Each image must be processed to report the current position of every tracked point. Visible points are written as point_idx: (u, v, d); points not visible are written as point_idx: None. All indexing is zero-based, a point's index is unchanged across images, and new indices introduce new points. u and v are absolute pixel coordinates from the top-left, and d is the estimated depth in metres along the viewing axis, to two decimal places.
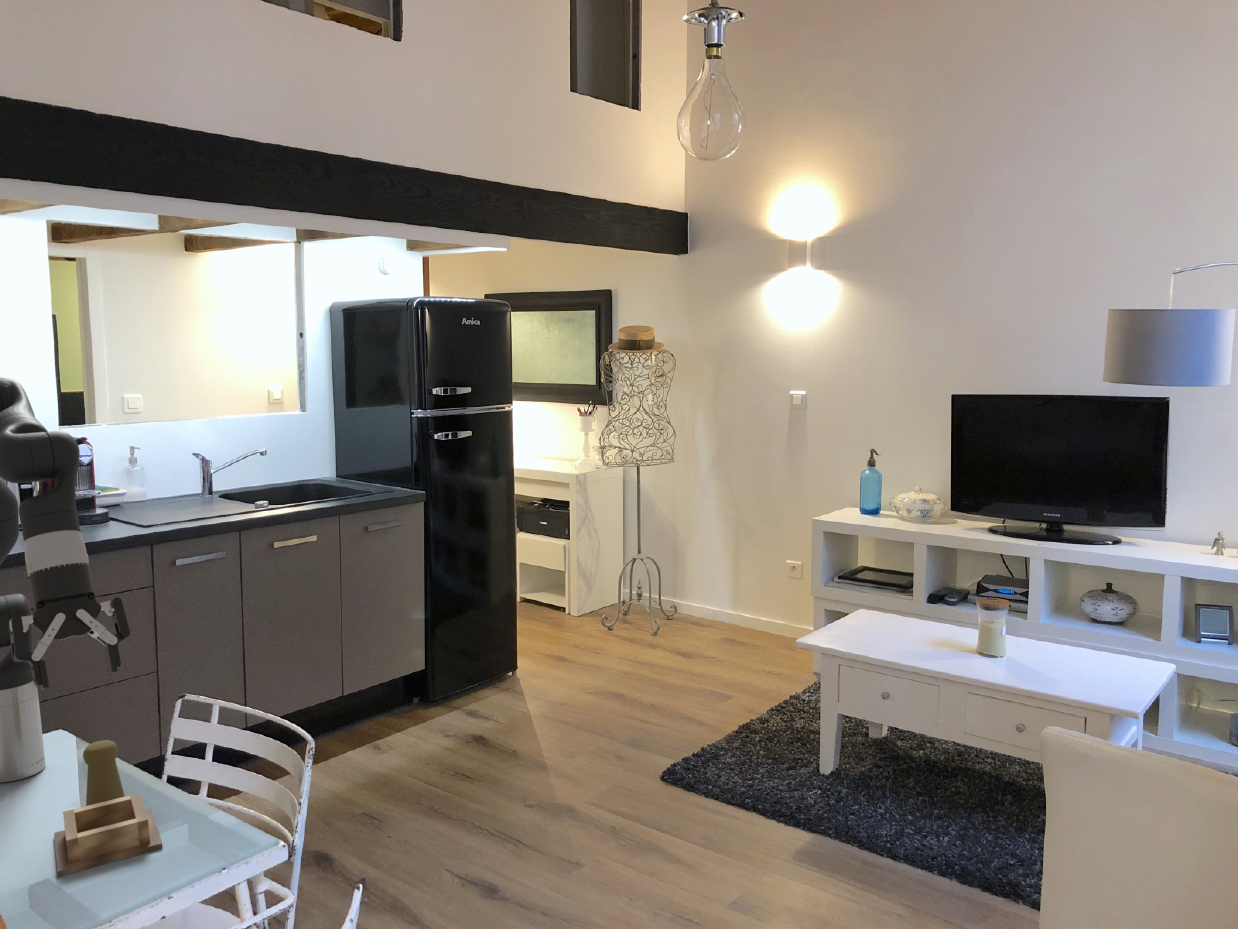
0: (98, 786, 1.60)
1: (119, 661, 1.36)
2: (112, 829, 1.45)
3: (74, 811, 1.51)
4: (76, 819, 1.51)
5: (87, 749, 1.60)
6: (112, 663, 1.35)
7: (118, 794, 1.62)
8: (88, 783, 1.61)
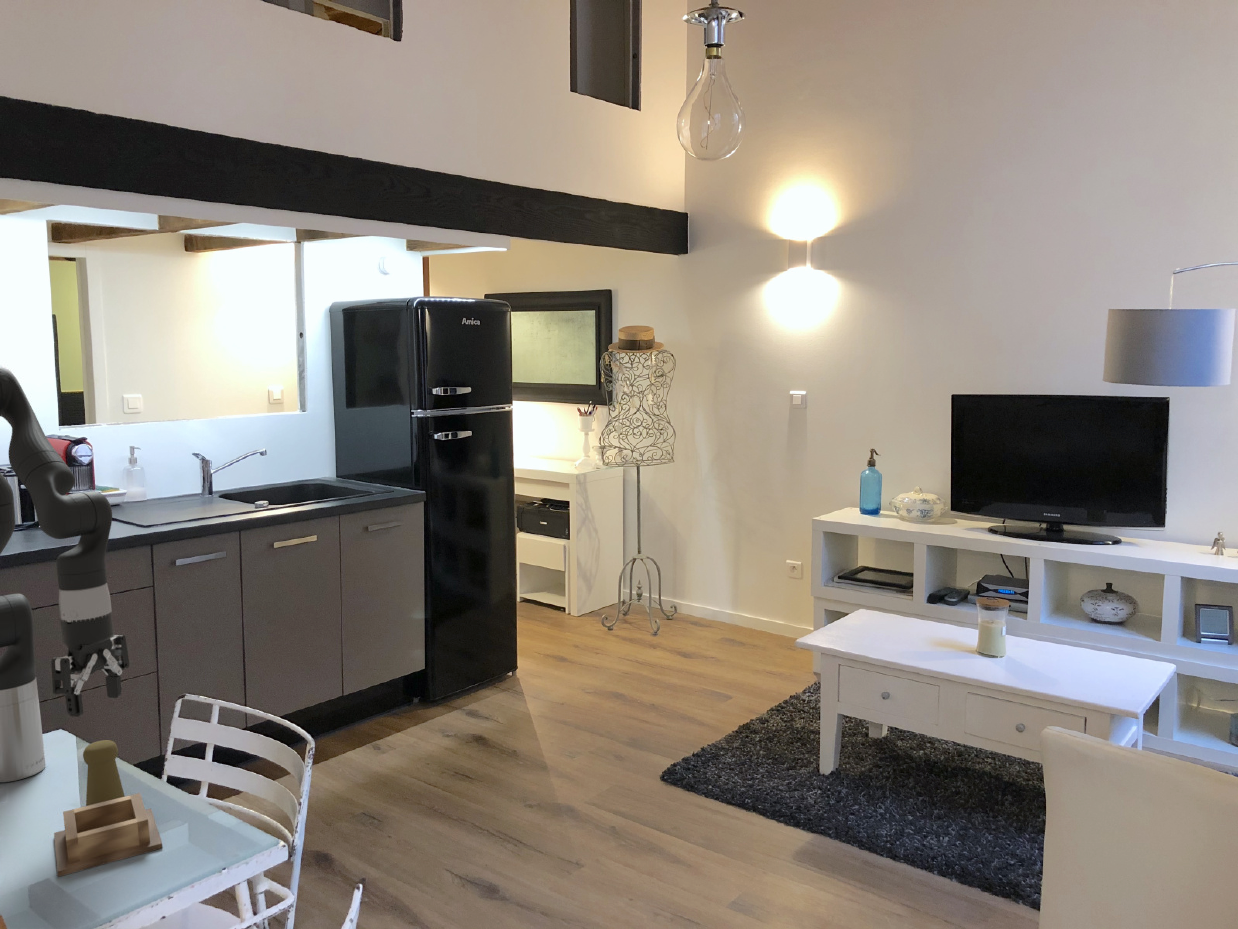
0: (98, 786, 1.60)
1: (120, 688, 1.66)
2: (112, 829, 1.45)
3: (74, 811, 1.51)
4: (76, 819, 1.51)
5: (87, 749, 1.60)
6: (118, 690, 1.64)
7: (118, 794, 1.62)
8: (88, 783, 1.61)
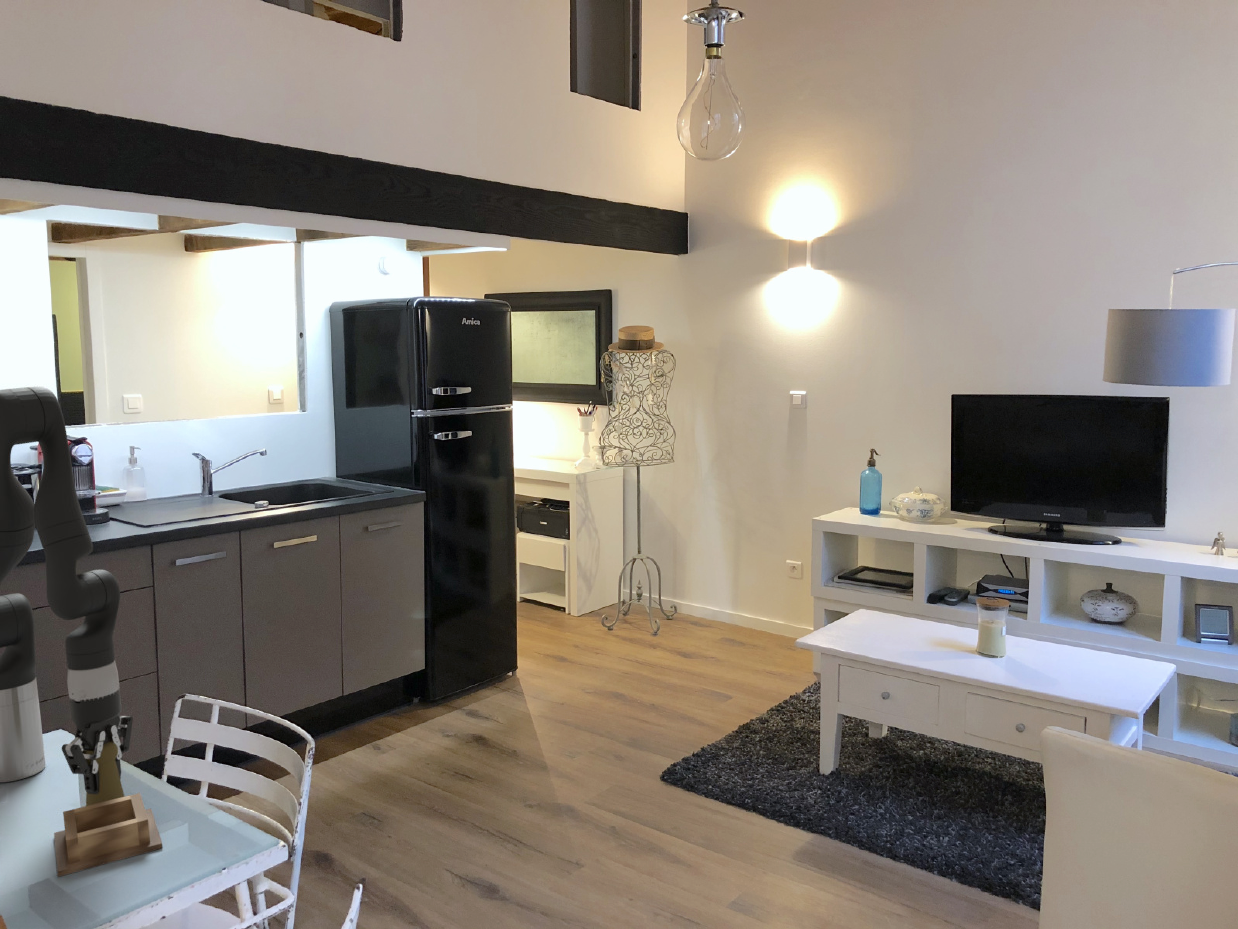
0: None
1: (120, 771, 1.65)
2: (112, 829, 1.45)
3: (74, 811, 1.51)
4: (76, 819, 1.51)
5: None
6: None
7: (118, 794, 1.62)
8: None
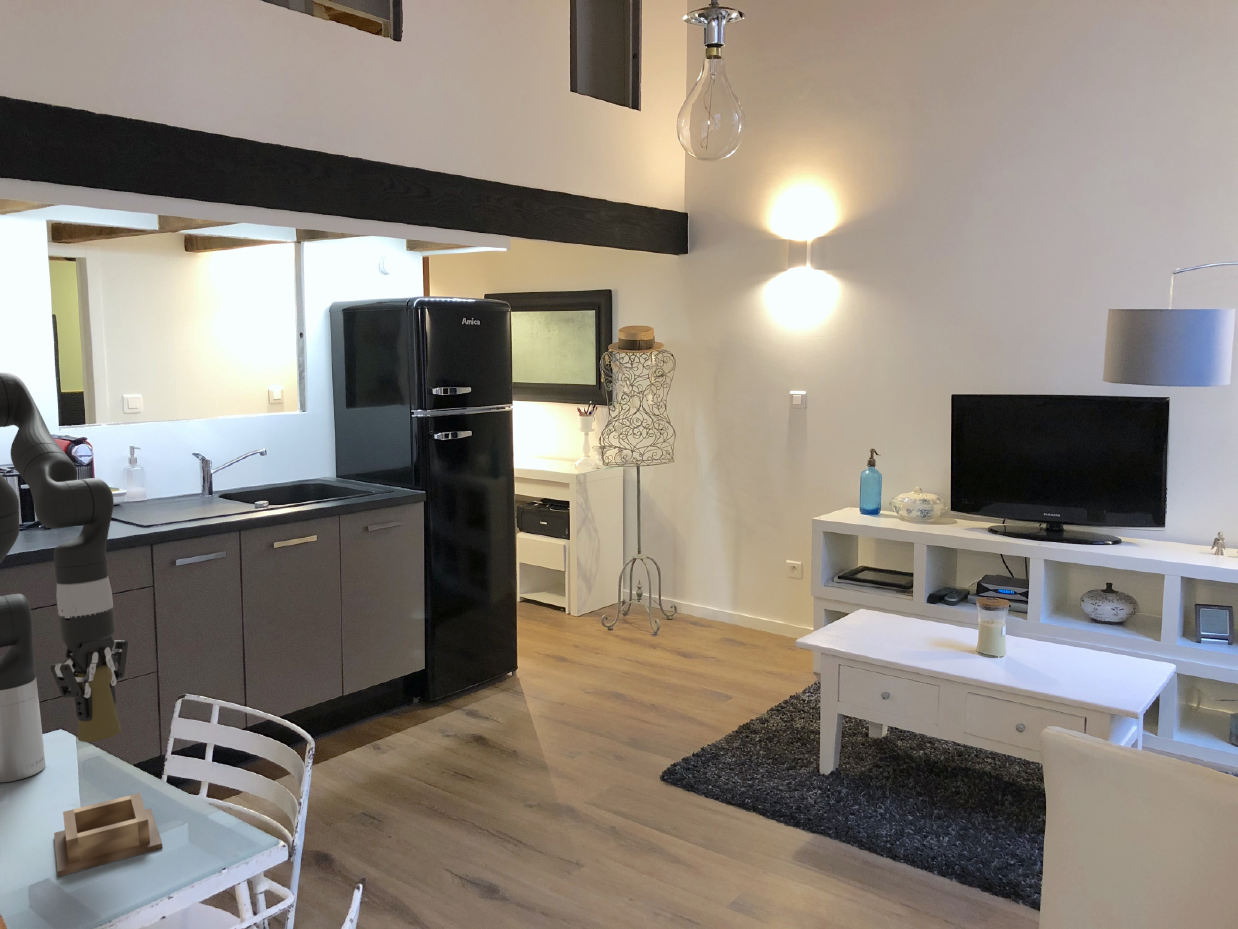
0: None
1: (115, 699, 1.53)
2: (112, 829, 1.45)
3: (74, 811, 1.51)
4: (76, 819, 1.51)
5: None
6: None
7: (113, 721, 1.50)
8: None
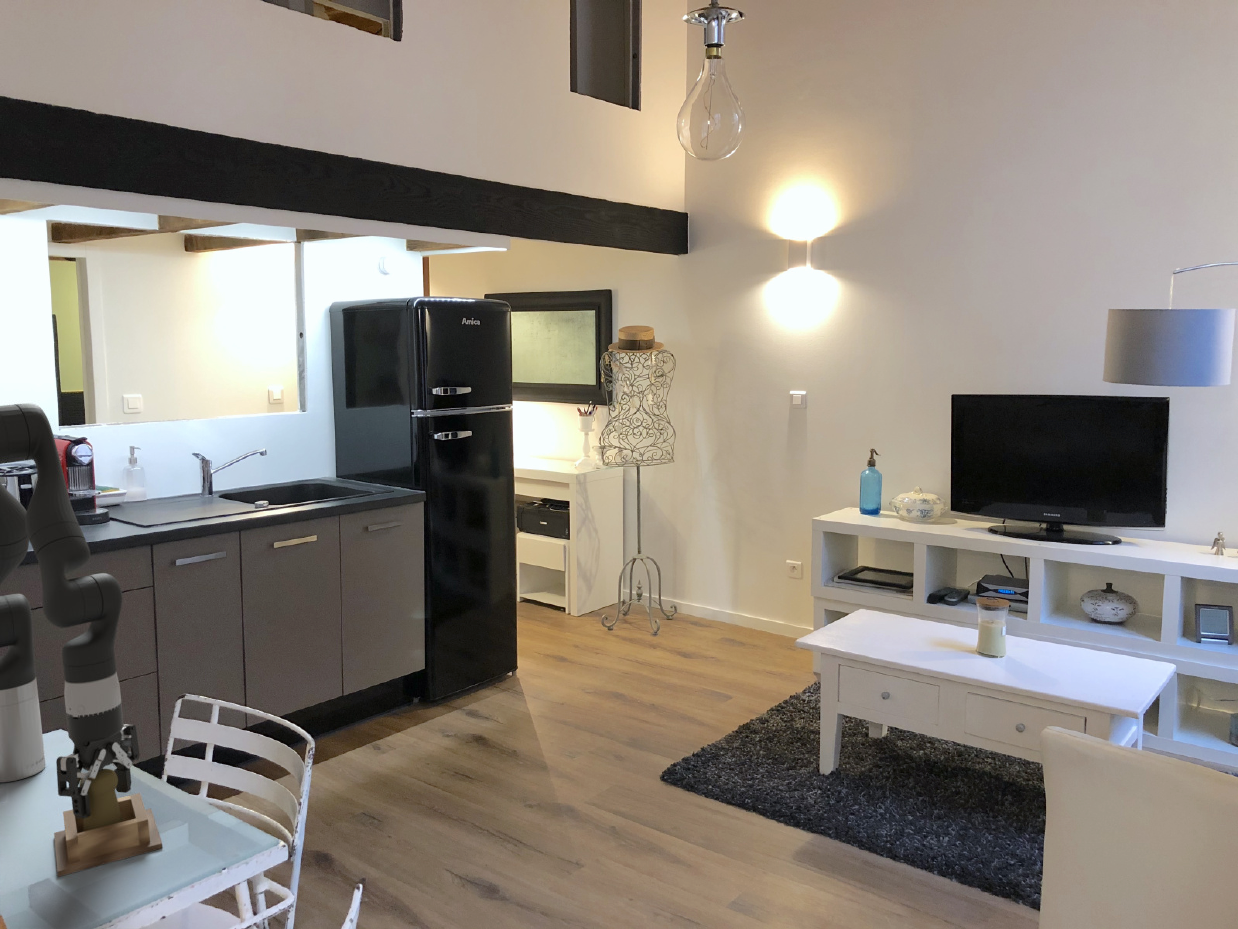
0: (97, 820, 1.47)
1: (130, 781, 1.54)
2: (112, 829, 1.45)
3: None
4: (76, 819, 1.51)
5: None
6: (128, 785, 1.53)
7: None
8: None
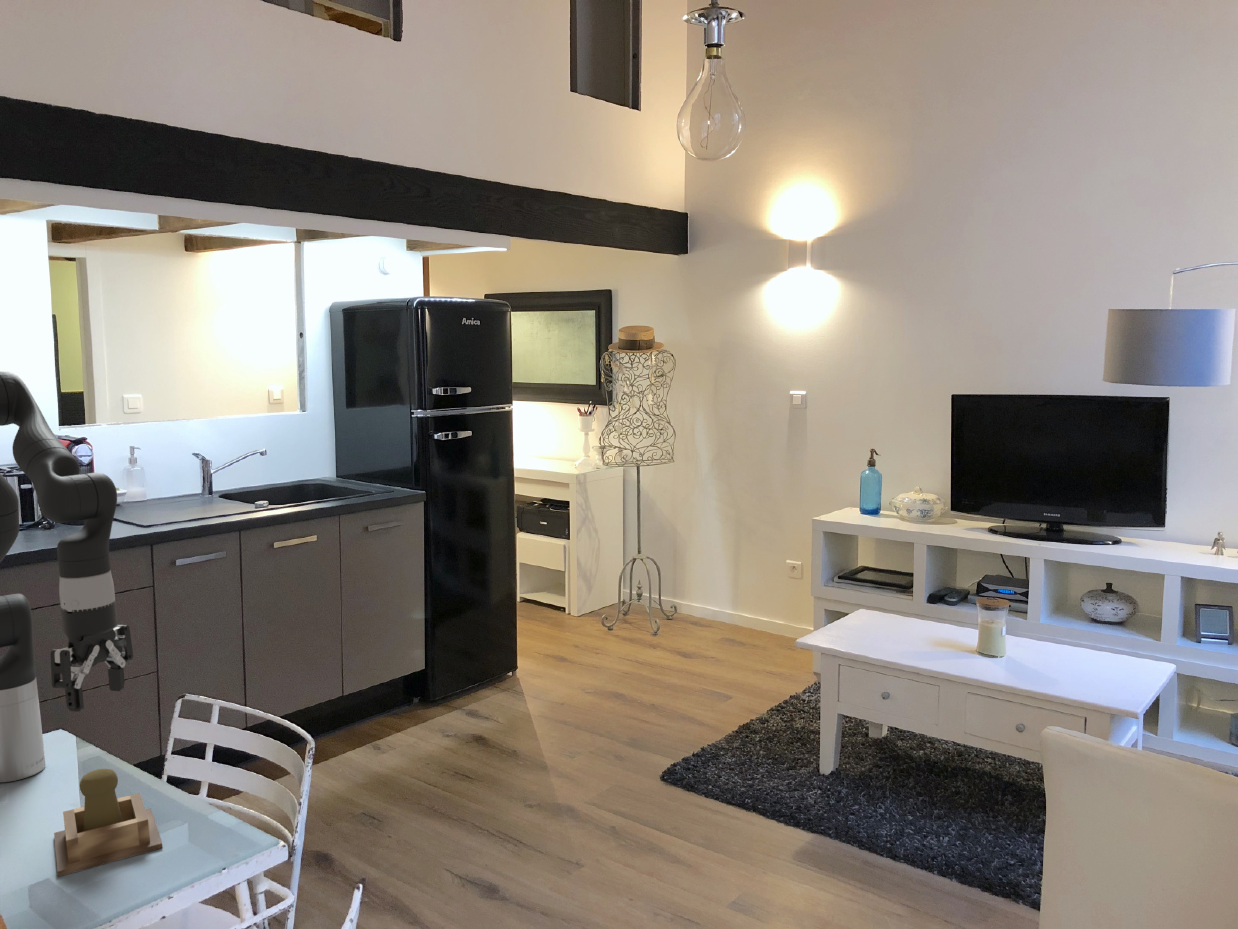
0: (97, 820, 1.47)
1: (123, 680, 1.56)
2: (112, 829, 1.45)
3: (74, 811, 1.51)
4: (76, 819, 1.51)
5: (84, 779, 1.47)
6: (121, 683, 1.55)
7: None
8: (85, 816, 1.47)
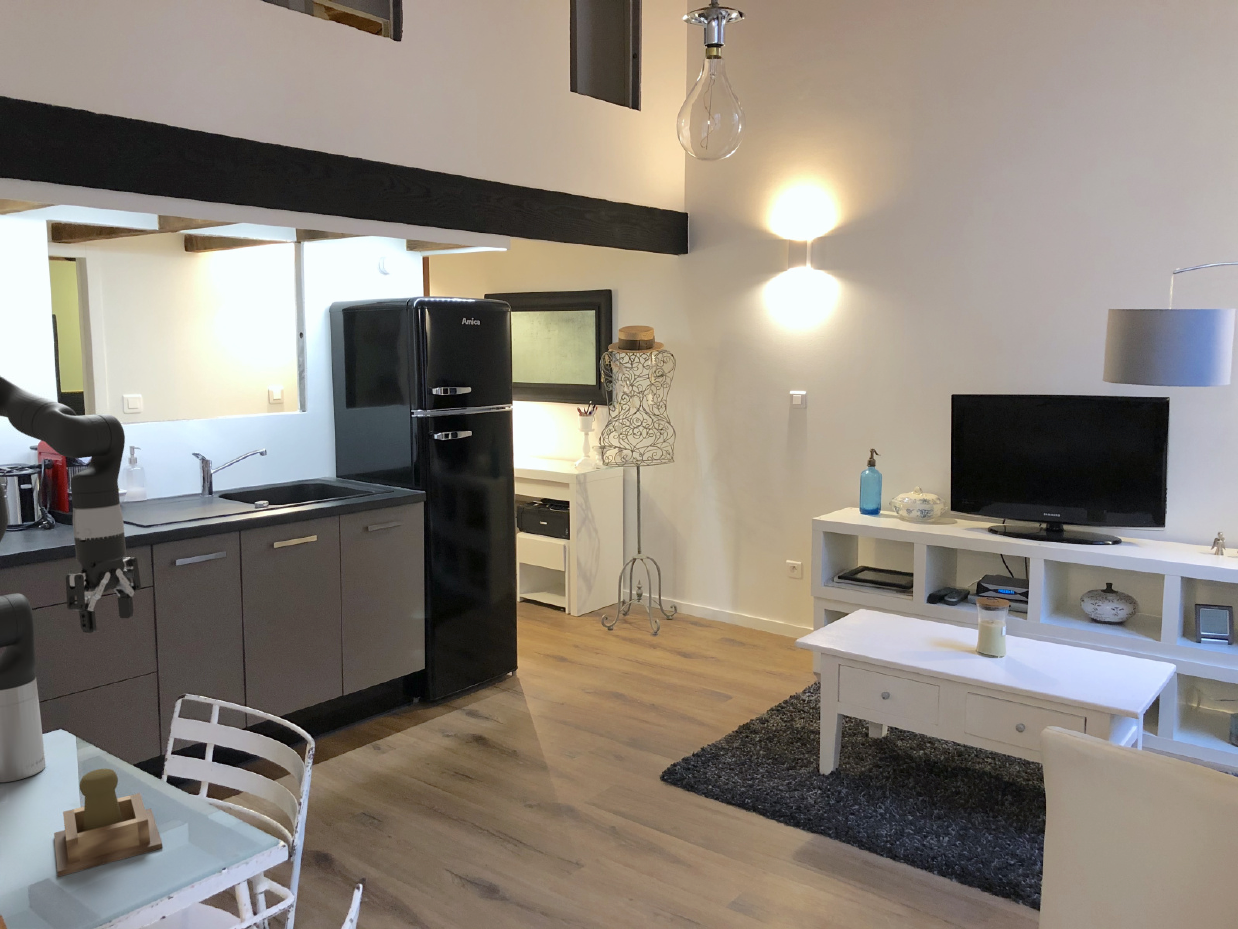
0: (97, 820, 1.47)
1: (132, 609, 1.69)
2: (112, 829, 1.45)
3: (74, 811, 1.51)
4: (76, 819, 1.51)
5: (84, 779, 1.47)
6: (130, 611, 1.68)
7: None
8: (85, 816, 1.47)
